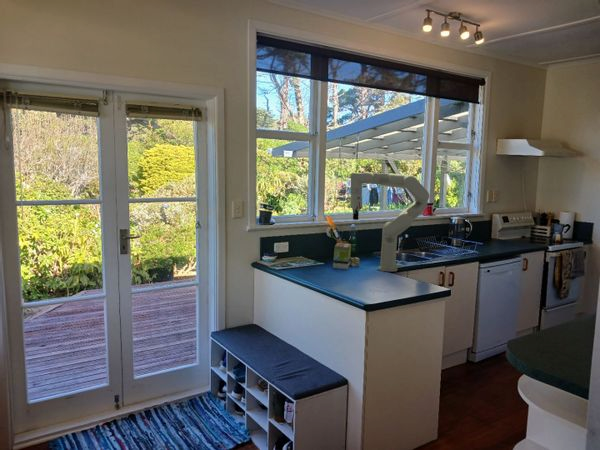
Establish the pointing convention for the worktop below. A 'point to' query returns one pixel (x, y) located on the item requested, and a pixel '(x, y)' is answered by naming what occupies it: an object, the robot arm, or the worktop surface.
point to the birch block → (354, 261)
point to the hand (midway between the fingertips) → (355, 219)
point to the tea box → (342, 256)
